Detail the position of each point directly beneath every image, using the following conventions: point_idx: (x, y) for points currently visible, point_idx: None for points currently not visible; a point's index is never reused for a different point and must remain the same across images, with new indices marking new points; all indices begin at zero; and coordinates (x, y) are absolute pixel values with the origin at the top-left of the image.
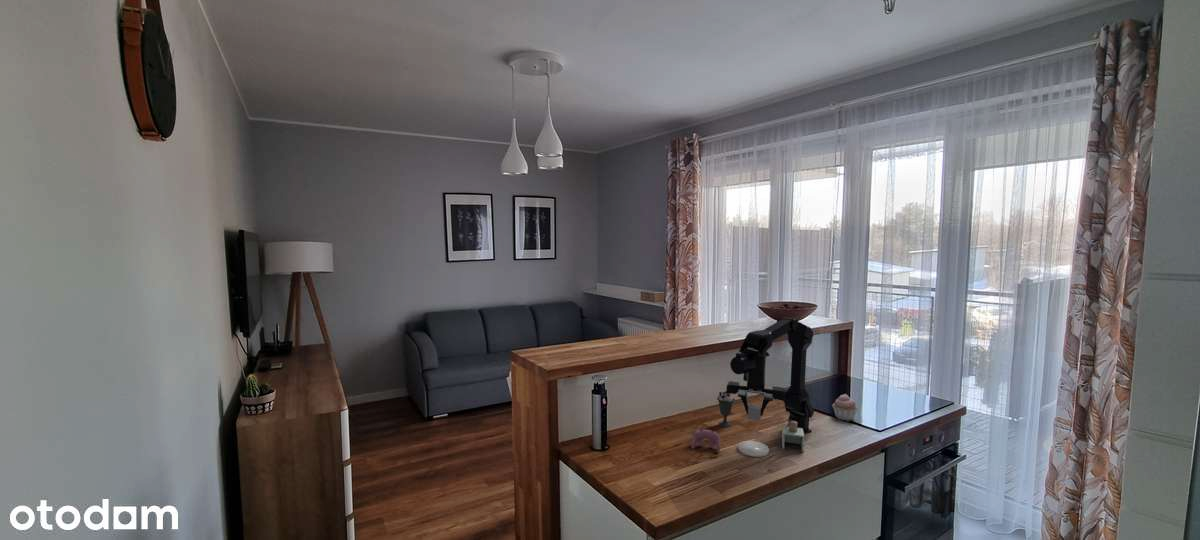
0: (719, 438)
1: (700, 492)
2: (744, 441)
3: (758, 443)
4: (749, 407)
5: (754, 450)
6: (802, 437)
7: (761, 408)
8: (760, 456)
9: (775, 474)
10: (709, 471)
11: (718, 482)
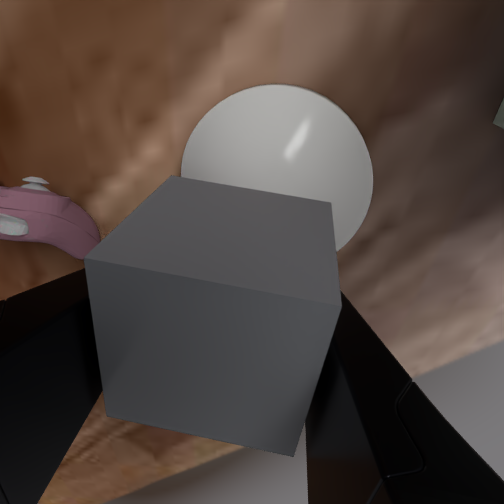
0: (55, 239)
1: (108, 456)
2: (220, 109)
3: (317, 123)
4: (123, 412)
5: None
6: None
7: (307, 456)
8: None
9: None
10: None
11: (142, 424)
